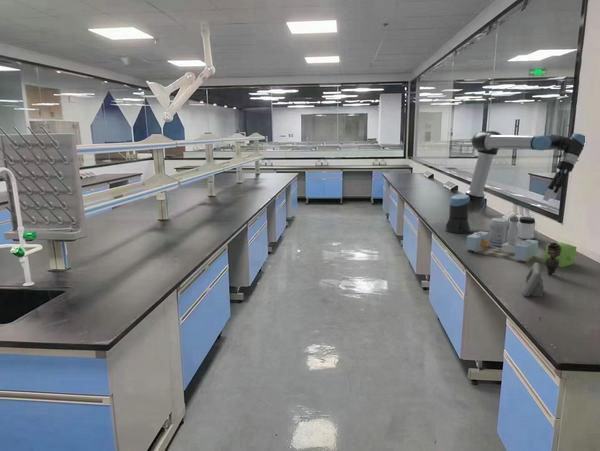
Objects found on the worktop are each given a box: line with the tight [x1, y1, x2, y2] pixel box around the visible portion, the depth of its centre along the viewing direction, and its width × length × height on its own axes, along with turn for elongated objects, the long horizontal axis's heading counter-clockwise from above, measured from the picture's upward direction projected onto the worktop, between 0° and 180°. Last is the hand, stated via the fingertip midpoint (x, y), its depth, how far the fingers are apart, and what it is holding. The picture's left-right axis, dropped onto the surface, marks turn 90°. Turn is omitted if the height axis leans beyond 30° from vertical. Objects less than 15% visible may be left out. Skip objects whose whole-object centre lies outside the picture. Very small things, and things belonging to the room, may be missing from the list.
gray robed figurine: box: [521, 262, 544, 298], centre depth 164 cm, size 16×9×11 cm, turn 140°
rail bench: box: [467, 245, 536, 264], centre depth 216 cm, size 30×12×2 cm, turn 42°
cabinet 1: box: [465, 231, 489, 250], centre depth 224 cm, size 5×16×8 cm, turn 132°
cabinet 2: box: [514, 239, 539, 261], centre depth 206 cm, size 5×16×8 cm, turn 132°
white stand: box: [501, 215, 519, 254], centre depth 210 cm, size 7×6×19 cm
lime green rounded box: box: [543, 241, 578, 268], centre depth 197 cm, size 18×10×10 cm, turn 117°
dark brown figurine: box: [545, 242, 562, 276], centre depth 183 cm, size 6×6×15 cm
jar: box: [516, 216, 536, 240], centre depth 248 cm, size 9×8×12 cm
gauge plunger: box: [481, 239, 490, 247], centre depth 222 cm, size 6×3×3 cm, turn 42°
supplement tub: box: [488, 217, 510, 247], centre depth 233 cm, size 10×10×15 cm
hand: (548, 199), depth 219 cm, fingers open, 13 cm apart
